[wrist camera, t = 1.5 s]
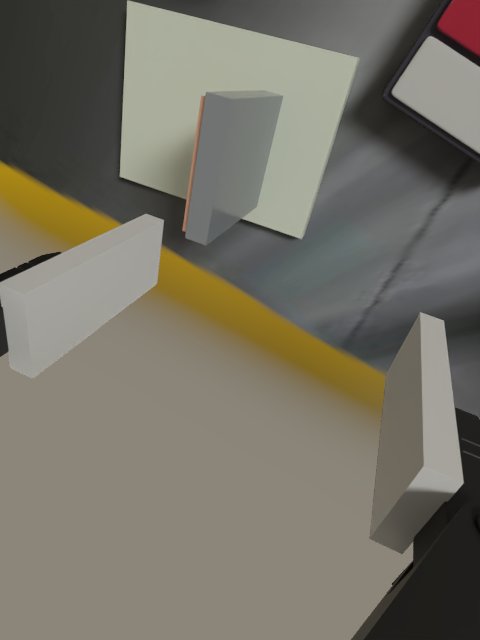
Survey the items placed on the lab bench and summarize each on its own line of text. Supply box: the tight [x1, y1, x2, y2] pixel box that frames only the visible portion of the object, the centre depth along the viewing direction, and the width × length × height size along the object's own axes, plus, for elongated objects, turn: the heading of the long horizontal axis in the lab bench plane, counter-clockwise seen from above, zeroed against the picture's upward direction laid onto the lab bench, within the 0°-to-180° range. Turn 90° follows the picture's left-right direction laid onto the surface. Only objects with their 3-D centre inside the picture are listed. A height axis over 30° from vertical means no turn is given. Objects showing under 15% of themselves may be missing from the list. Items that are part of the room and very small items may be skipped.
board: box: [120, 0, 360, 239], centre depth 35 cm, size 19×14×1 cm
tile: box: [182, 90, 283, 245], centre depth 30 cm, size 2×9×11 cm, turn 167°
